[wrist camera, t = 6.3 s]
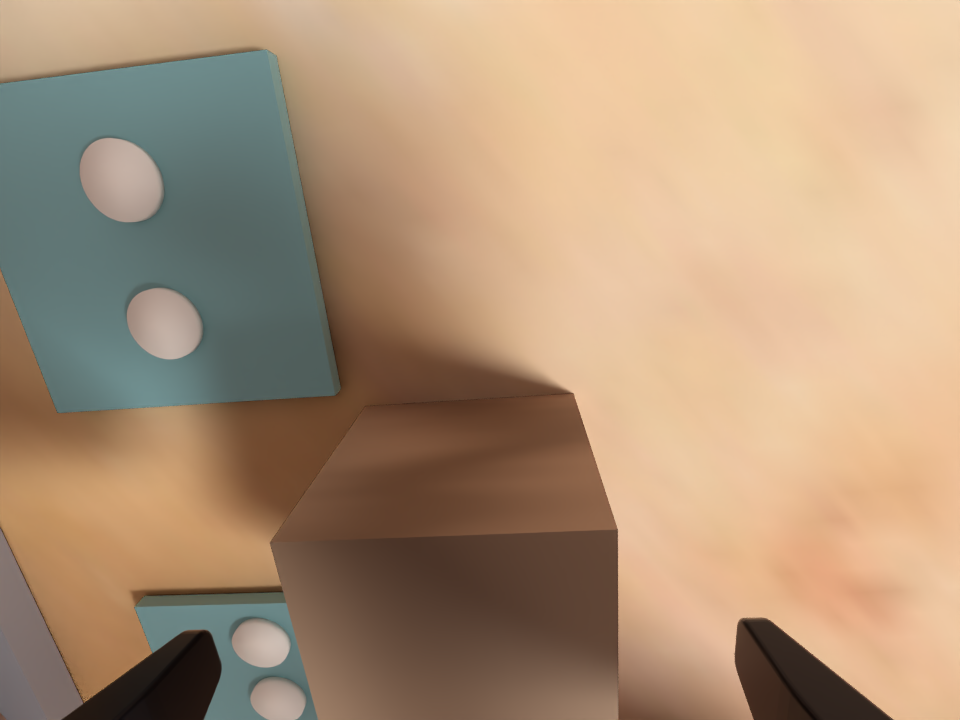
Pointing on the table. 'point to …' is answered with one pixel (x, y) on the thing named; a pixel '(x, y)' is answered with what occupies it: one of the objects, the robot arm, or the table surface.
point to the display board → (29, 654)
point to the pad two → (162, 236)
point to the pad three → (239, 651)
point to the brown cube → (457, 566)
